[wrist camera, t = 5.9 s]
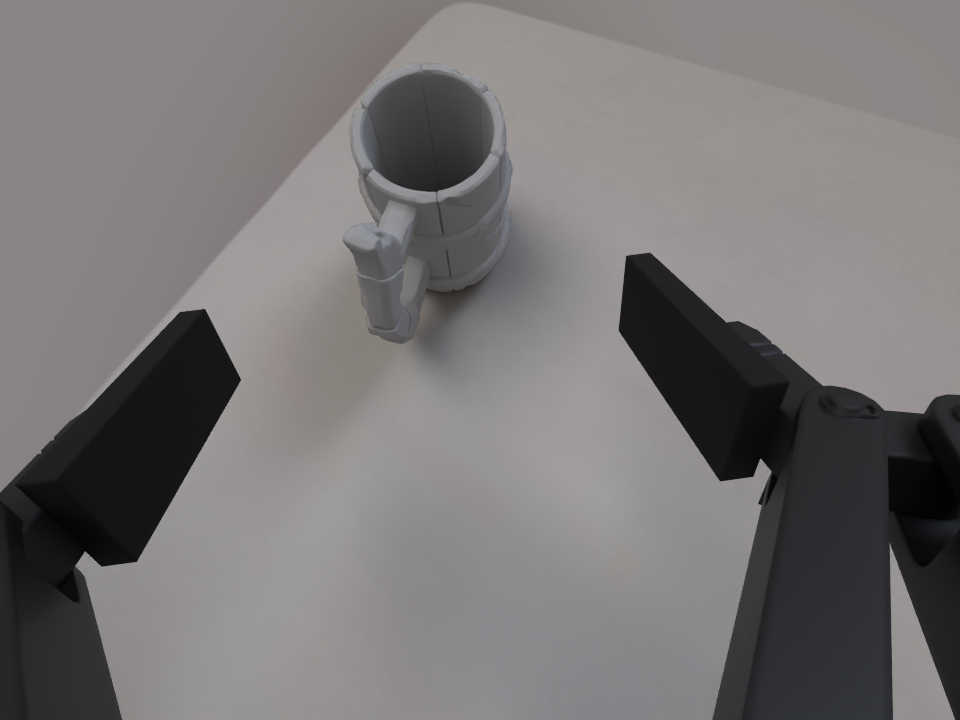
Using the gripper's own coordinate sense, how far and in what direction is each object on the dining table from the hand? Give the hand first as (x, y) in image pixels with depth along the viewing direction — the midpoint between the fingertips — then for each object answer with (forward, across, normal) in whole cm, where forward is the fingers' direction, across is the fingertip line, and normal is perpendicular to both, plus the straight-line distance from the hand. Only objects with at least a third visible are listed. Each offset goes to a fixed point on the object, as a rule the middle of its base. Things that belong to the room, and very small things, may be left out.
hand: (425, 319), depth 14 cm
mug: (+13, 0, -4) cm, 14 cm away
